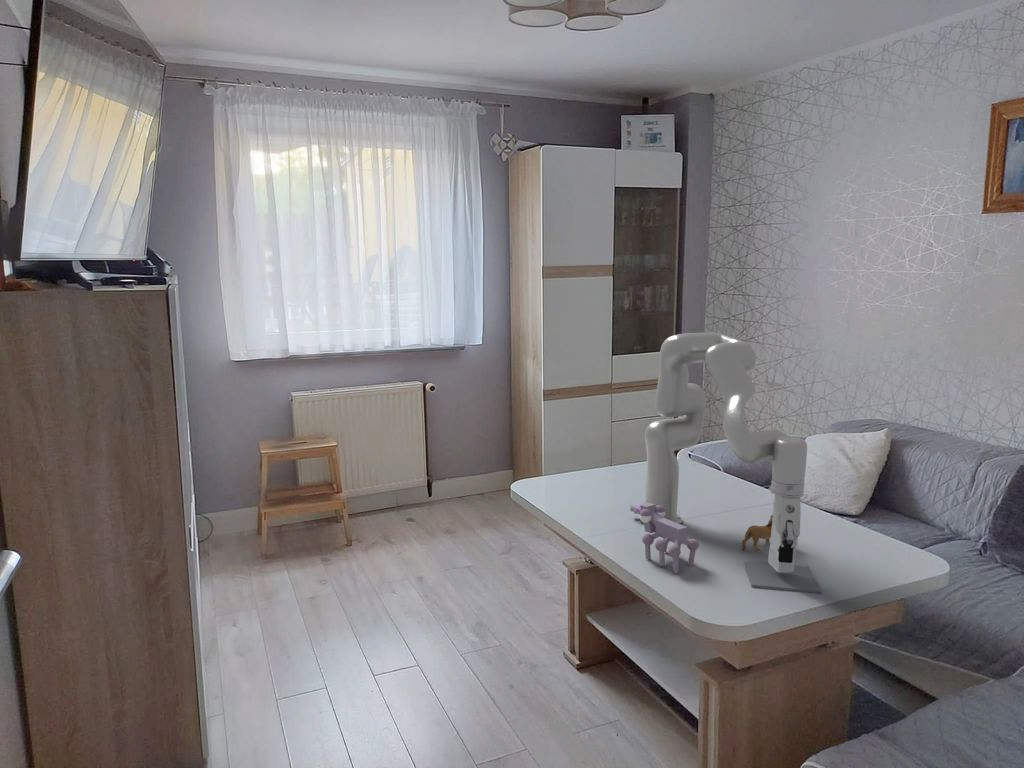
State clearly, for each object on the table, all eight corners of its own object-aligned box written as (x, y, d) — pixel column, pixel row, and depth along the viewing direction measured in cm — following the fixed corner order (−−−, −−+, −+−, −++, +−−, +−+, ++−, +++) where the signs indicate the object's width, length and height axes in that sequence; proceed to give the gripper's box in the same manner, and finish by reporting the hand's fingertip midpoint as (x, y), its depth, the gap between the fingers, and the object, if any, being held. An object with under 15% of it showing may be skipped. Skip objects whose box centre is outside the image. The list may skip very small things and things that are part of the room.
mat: (751, 587, 169) (751, 584, 169) (743, 563, 183) (744, 561, 183) (821, 593, 166) (821, 590, 166) (808, 568, 180) (808, 566, 180)
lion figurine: (772, 539, 199) (775, 509, 197) (788, 546, 194) (790, 515, 193) (735, 549, 192) (737, 518, 190) (750, 556, 187) (752, 524, 186)
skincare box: (767, 562, 177) (770, 517, 175) (784, 562, 177) (787, 517, 175) (778, 573, 171) (782, 526, 169) (795, 572, 171) (799, 526, 169)
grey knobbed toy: (618, 549, 191) (621, 501, 189) (645, 542, 197) (649, 496, 196) (672, 575, 175) (677, 523, 173) (701, 567, 181) (705, 517, 179)
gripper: (811, 499, 161) (805, 572, 164) (796, 477, 178) (791, 543, 181) (777, 497, 163) (772, 569, 166) (765, 476, 180) (761, 541, 183)
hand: (782, 555), depth 174 cm, fingers closed on skincare box, 6 cm apart
